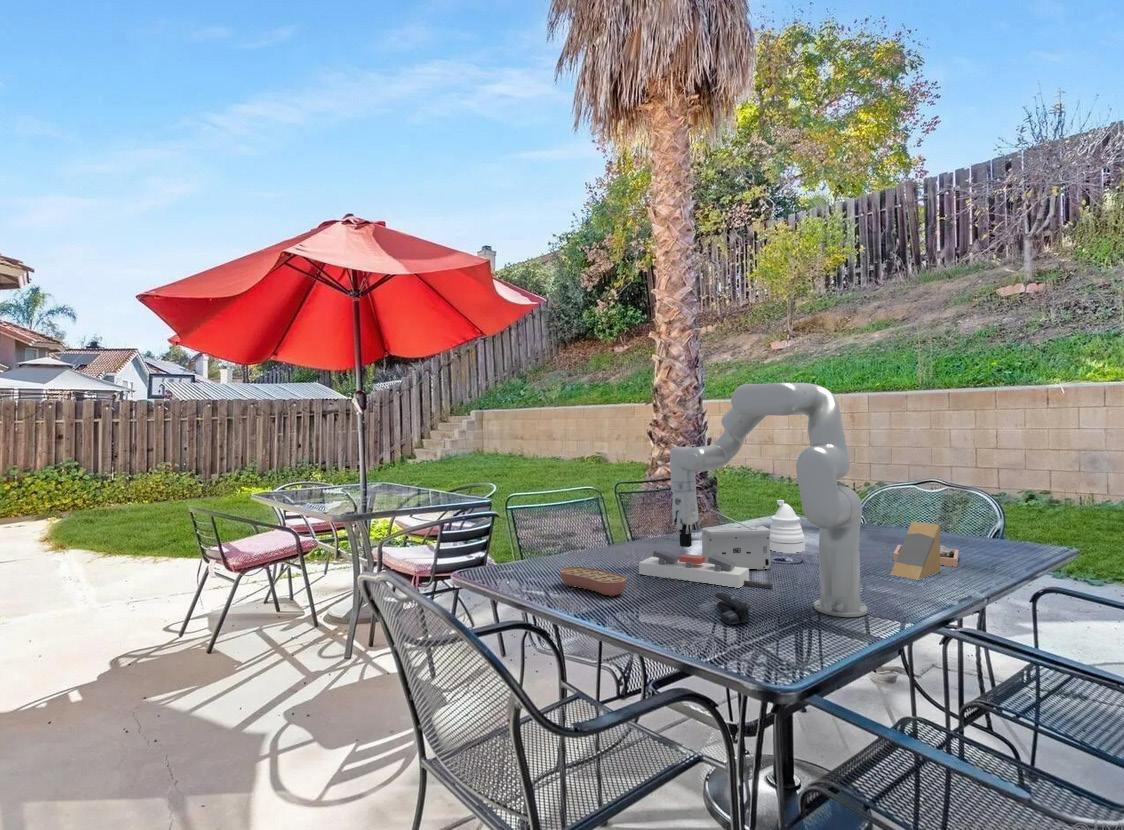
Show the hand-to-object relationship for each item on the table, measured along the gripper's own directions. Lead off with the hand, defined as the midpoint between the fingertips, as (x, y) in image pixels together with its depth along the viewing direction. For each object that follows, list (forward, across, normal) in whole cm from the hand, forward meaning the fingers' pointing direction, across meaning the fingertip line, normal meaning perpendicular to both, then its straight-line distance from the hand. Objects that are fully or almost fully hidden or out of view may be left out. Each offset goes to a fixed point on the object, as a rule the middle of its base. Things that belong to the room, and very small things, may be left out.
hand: (685, 546), depth 198 cm
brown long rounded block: (+10, -25, +19) cm, 33 cm away
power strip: (+10, 0, -6) cm, 11 cm away
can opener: (+11, -28, -23) cm, 38 cm away
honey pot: (+10, +53, -17) cm, 57 cm away
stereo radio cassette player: (+10, +18, -10) cm, 23 cm away
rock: (+11, +60, -62) cm, 87 cm away
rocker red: (+5, 0, -2) cm, 5 cm away
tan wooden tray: (+11, +59, -61) cm, 86 cm away
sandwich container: (+11, +37, -59) cm, 70 cm away
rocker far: (+4, 0, +7) cm, 8 cm away
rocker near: (+5, 0, -11) cm, 12 cm away
